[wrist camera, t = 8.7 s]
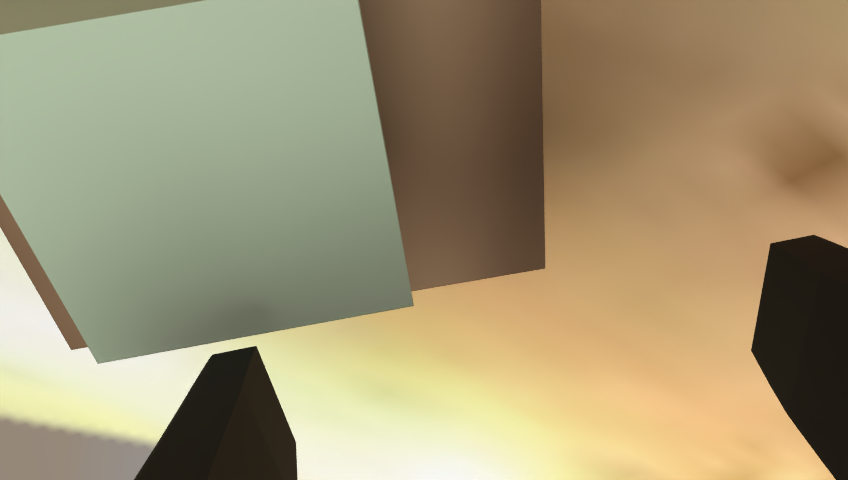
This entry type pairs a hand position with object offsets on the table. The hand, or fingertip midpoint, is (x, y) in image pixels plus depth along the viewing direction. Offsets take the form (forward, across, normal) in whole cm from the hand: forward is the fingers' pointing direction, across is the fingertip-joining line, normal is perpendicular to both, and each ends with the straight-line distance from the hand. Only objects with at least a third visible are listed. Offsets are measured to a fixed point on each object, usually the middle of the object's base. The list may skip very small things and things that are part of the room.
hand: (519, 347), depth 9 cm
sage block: (+6, +4, -3) cm, 8 cm away
